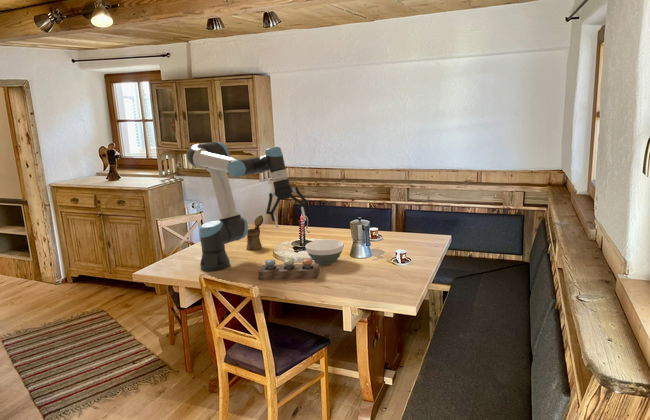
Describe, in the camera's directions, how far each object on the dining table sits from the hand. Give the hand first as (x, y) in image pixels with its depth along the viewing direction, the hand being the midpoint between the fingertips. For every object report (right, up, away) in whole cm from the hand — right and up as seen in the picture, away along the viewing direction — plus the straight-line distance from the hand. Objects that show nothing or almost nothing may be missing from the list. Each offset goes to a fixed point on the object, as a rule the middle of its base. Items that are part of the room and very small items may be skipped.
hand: (291, 224), depth 220 cm
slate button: (-10, -22, +4) cm, 25 cm away
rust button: (+8, -21, +2) cm, 23 cm away
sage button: (-1, -22, +3) cm, 22 cm away
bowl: (+16, -20, +20) cm, 33 cm away
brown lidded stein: (-24, -15, +56) cm, 63 cm away
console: (-1, -25, +4) cm, 25 cm away
